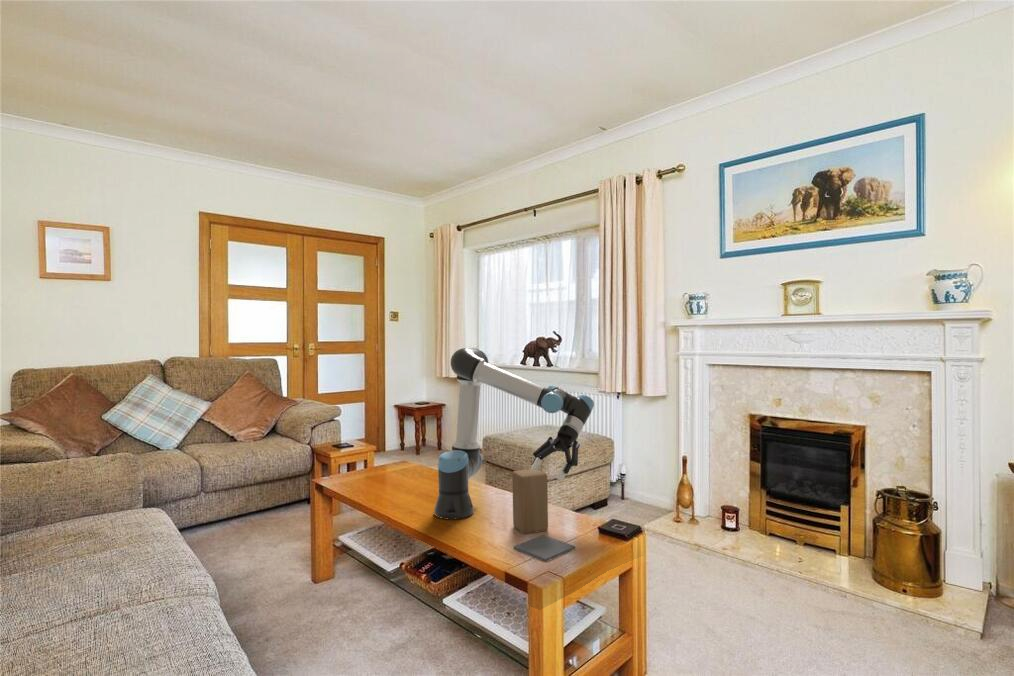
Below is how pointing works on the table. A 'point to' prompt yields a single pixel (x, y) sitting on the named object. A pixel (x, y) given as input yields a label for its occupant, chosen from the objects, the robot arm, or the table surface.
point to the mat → (544, 547)
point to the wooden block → (530, 501)
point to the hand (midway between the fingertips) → (544, 477)
